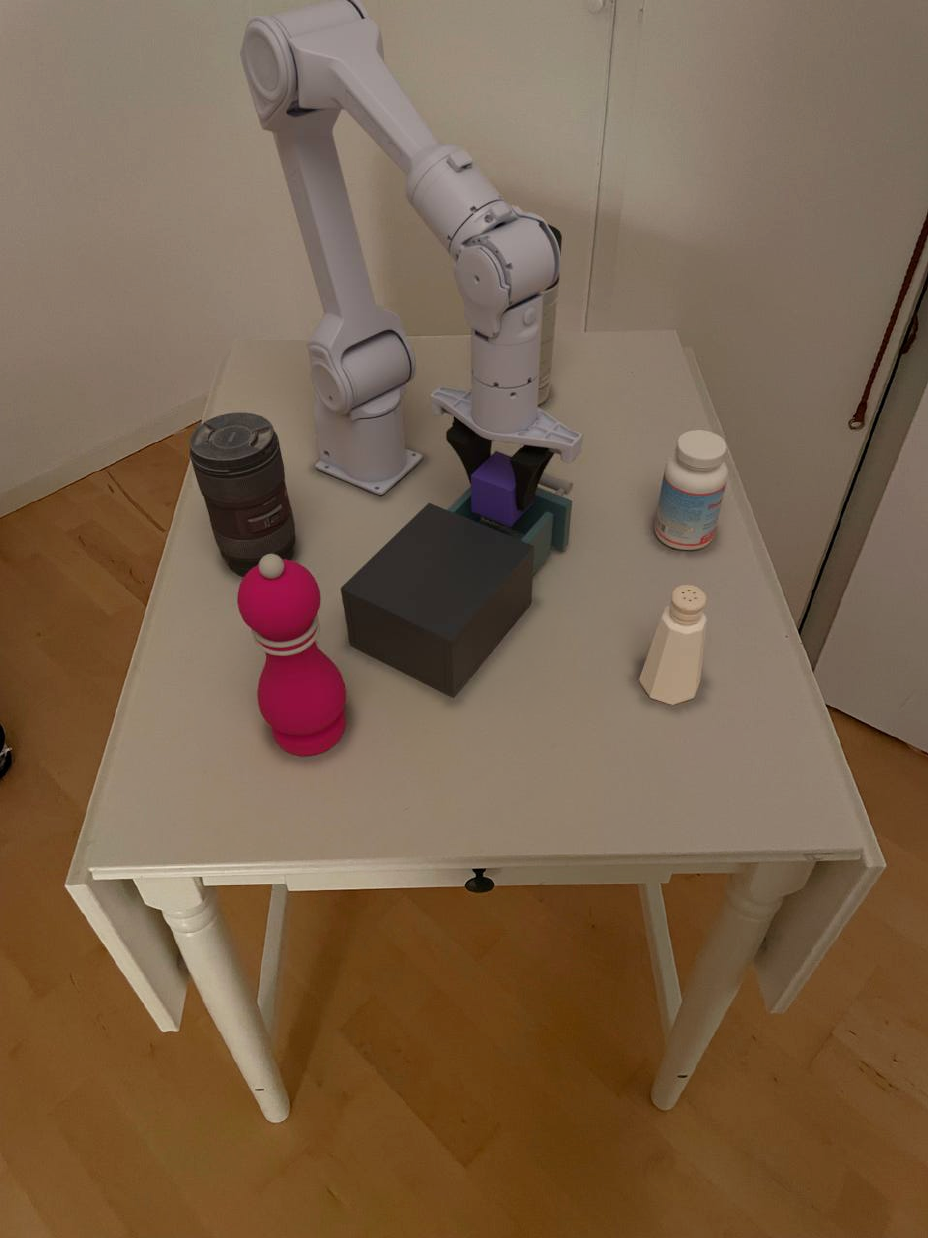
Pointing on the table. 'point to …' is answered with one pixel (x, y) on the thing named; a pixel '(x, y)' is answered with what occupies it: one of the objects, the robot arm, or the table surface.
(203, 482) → the camera lens
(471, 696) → the table surface
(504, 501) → the purple upright block
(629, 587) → the table surface
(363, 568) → the dark drawer box
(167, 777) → the table surface
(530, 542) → the teal drawer
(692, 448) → the pill bottle
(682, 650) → the salt shaker
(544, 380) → the spray can
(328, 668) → the pepper mill
